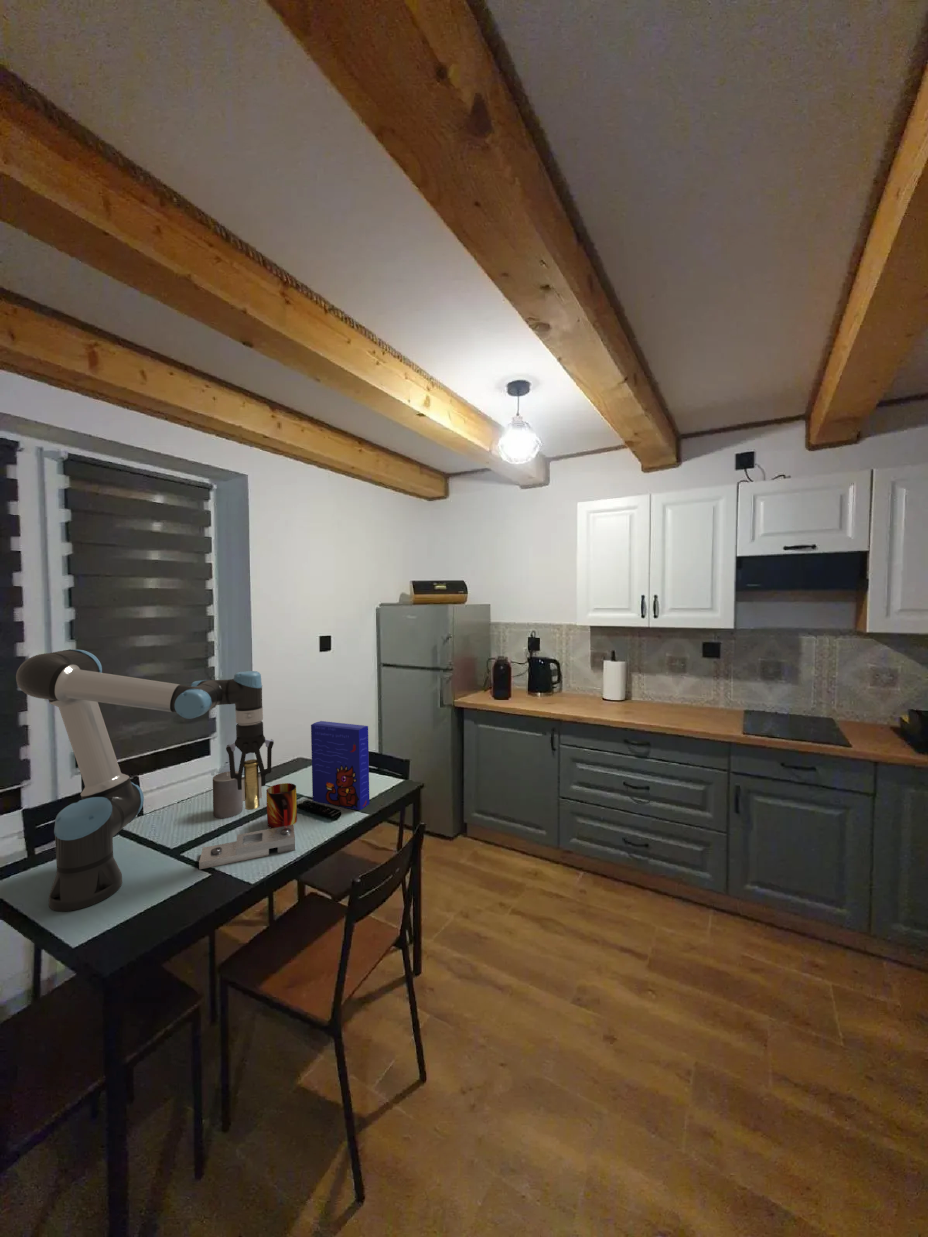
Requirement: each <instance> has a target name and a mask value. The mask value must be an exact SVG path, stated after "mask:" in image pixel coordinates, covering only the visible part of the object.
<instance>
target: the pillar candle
mask: <svg viewBox="0 0 928 1237" xmlns="http://www.w3.org/2000/svg"><path fill="white" fill-rule="evenodd" d="M238 771H239V770H238ZM238 771H236V770H235V773H238ZM243 802H244V801H242V790H238V783H237V779H231V777H230V770H228V771H225V772H224V771H223V772H220V773H217V774H215V775H214V776H213V777H212V808H213V809H212V814H213V815H212V816H213V817H214V818H215V819H228V818H233V817H236V816H237V815H239V814H240V813H242V812H243V808H244V806H243V805H244V803H243Z"/></svg>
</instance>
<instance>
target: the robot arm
mask: <svg viewBox="0 0 928 1237" xmlns="http://www.w3.org/2000/svg"><path fill="white" fill-rule="evenodd" d="M15 679H16V680H15V681H16V684H17V686H18V688H19V690H21V691H22V692H23V693H24V694H25V695H28V696H30V697H33V698H37V699H42V700H43V699H44V700H48V702H49V704H50V705H53V706H56V708H58V709H59V713H60V716H61V718H62V721H63V724H64V727H65V730H66V734H67V737H68V739H69V742H70V746H71V748H72V751H73V755H74V757H75V760H76V763H77V766H78V770H79V772H80V776H81V778H82V782H83V784H84V788H83V790H82V791H81V793H80V796H81V800H80V799H79V800H78V801H77V802H72V803H70V804H69V805H67V806H65V807H64V808H63V809H61V810H60V811H59V812H58V813H57V815H56V817H55V819H54V820H55V821H54V829H53V834H54V842H55V859H56V875H55V876H54V880H53V883H52V886H51V888H50V891H49V894H48V906H49V908H50V909H51V910H53V911H56V912H70V911H76V910H80V909H85V908H87V907H90V906H93V905H95V904H98V903H100V902H102V901H104V900H106V899H108V898H110V897H111V896H112V895H113V894H115V893H116V892H117V891H119V889H121V886H122V884H123V873H122V871H121V869H120V867H119V864H118V863H117V861H116V858H115V857H114V843H113V842H114V841H113V840H114V836H116V835H117V834H118V833H119V832H120V831H121V830H123V829H124V827H126V826H127V825H128V824H130V823H132V821H133V820H134V819H135V818H136V817H137V815H139V813H140V812H141V810H142V808H143V806H144V802H145V796H144V792H143V789H141V787H140V786H139V785H138V784H135V783H134V782H132V781H131V778H130V776H129V775H128V774H125V773H122V772H121V768H120V766H119V763H118V760H117V756H116V753H115V750H114V747H113V744H112V741H111V739H110V735H109V732H108V729H107V727H106V724H105V720H104V717H103V714H102V712H101V708H100V705H99V703H104V704H111V705H118V706H125V707H132V708H140V709H145V710H146V709H148V710H155V711H160V712H161V711H162V712H168V713H169V712H170V713H174V714H175V713H177V714H178V715H179V716H180V717H182V718H184V719H187V720H188V719H189V720H190V719H191V720H192V719H195V718H199V717H200V716H203V715H205V714H206V713H207V712H208V711H210V710H211V709H214V707H216V706H222V705H234V706H235V709H234V710H235V723H236V725H235V733H236V734H235V735H236V736H235V741H234V742H233V743H231V744H227V745H226V747H225V751H226V752H227V754H228V763H229V764H228V765H229V771H230V777H231V779H237V783H238V790H242V801H243V802H245V782H244V776H243V774H244V762H245V761H246V756H247V755H249V754H254V756H255V759H257V762H258V771H259V773H260V774H259V776H258V780H259V799H263V798H262V797H263V790H262V788H263V787H265V786H266V775H268V774H271V773H272V754H273V753H272V752H273V751H272V748H273V747H274V744H275V743H274V739H272V738H271V739H269V738H266V737H265V735H264V722H263V719H264V714H263V710H264V709H263V708H264V707H263V685H262V674H261V673H260V672H259V671H256V670H246V671H239V672H236V673H235V674H234V677H233V678H232V679H203V680H195V681H193V682H192V683H191V684H190V685H186V684H179V683H173V682H172V683H171V682H166V681H158V680H154V679H151V680H150V679H145V678H139V677H132V676H126V675H119V674H111V673H104V672H103V666H102V663H101V662H100V660H99V659H98V657H97V656H96V655H94V654H93V653H91V652H89V651H86V650H83V649H63V650H59V651H54V652H46V653H40V654H39V653H38V654H36V655H33V656H30V657H29V658H27V659H26V660H25V661H23V662H22V663H21V664H20V666H19V667H18V669H17V670H16V675H15ZM264 744H265V747H266V748H267V750H266V751H267V752H266V755H267V756H266V758H267V759H266V760H267V761H266V768H265V766H264V761H263V758H262V754H261V748H262V746H263V745H264ZM236 748H237V749H238V750H239V751H240V752H241V755H240V760H239V766H238V773H235V771H236V764H235V762H236V761H235V754H234V752H235V750H236Z"/></svg>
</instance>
